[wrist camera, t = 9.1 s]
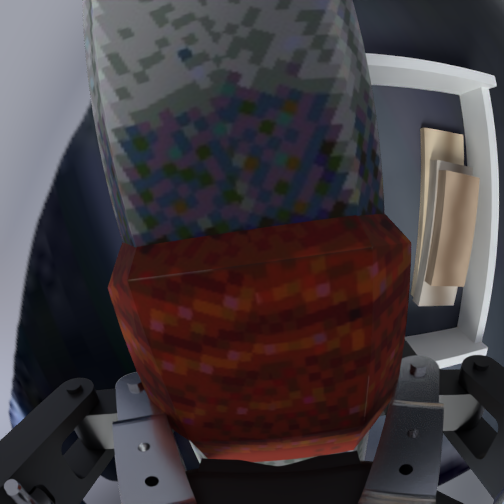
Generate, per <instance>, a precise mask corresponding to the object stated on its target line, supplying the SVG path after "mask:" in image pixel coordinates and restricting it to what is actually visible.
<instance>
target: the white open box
mask: <svg viewBox="0 0 504 504" xmlns="http://www.w3.org/2000/svg"><path fill="white" fill-rule="evenodd" d="M365 54H366V59H367V64H368V69H369V74H370V80H371V85H383V86H396V87H407V88H416V89H424V90H432V91H439V92H445V93H452V94H457V95H460V101H461V108H462V115H463V122H464V131H465V140H466V152H467V166H468V167H472V168H473V175H472V176H474V177H478V178H480V181H479V195H478V205H477V215H476V223H475V230H474V237H473V244H472V250H471V255H470V261H469V266H468V271H467V276H466V281H465V285H464V287H463V293H462V300H461V307H460V313H459V319H458V324H457V327H455V328H451V329H446V330H441V331H435V332H430V333H425V334H419V335H413V336H407V337H405V341H407V342H408V343H409V345H410V346H411V347H412V349H413V350H414V351H415V353H416V354H417V355H420V356H426V357H429V358H431V359H433V360H434V361H436V362H437V364H438V365H439V369H440V368H444V367H448V366H452V365H456V364H460V363H462V362H463V360H464V359H465V358H467V357H469V356H472V355H484V356H486V353H487V349H488V347H487V346H486V345H485V344H483V343H482V338H483V334H484V329H485V324H486V320H487V315H488V309H489V304H490V298H491V292H492V285H493V278H494V270H495V262H496V251H497V239H498V219H499V177H498V158H497V145H496V135H495V126H494V119H493V112H492V105H491V99H490V94H489V89H490V88H493V87H496V86H497V85H496V80H495V76H493V75H489V74H486V73H482V72H478V71H475V70H471V69H466V68H462V67H458V66H453V65H448V64H443V63H438V62H433V61H427V60H421V59H414V58H407V57H400V56H391V55H382V54H370V53H365Z"/></svg>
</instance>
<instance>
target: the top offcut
mask: <svg viewBox="0 0 504 504" xmlns="http://www.w3.org/2000/svg"><path fill="white" fill-rule="evenodd" d="M479 181H480V178H478V177H474V176H470V175H465V174H461V173H457V172H452V171H448V170H439V172H438V187H437V199H436V209H435V218H434V226H433V234H432V241H431V247H430V253H429V259H428V265H427V271H426V276H425V282H426V283H428V284H429V285H430V286H457V287H464V285H465V281H466V276H467V271H468V266H469V261H470V255H471V250H472V244H473V237H474V230H475V223H476V215H477V205H478V195H479Z"/></svg>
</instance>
